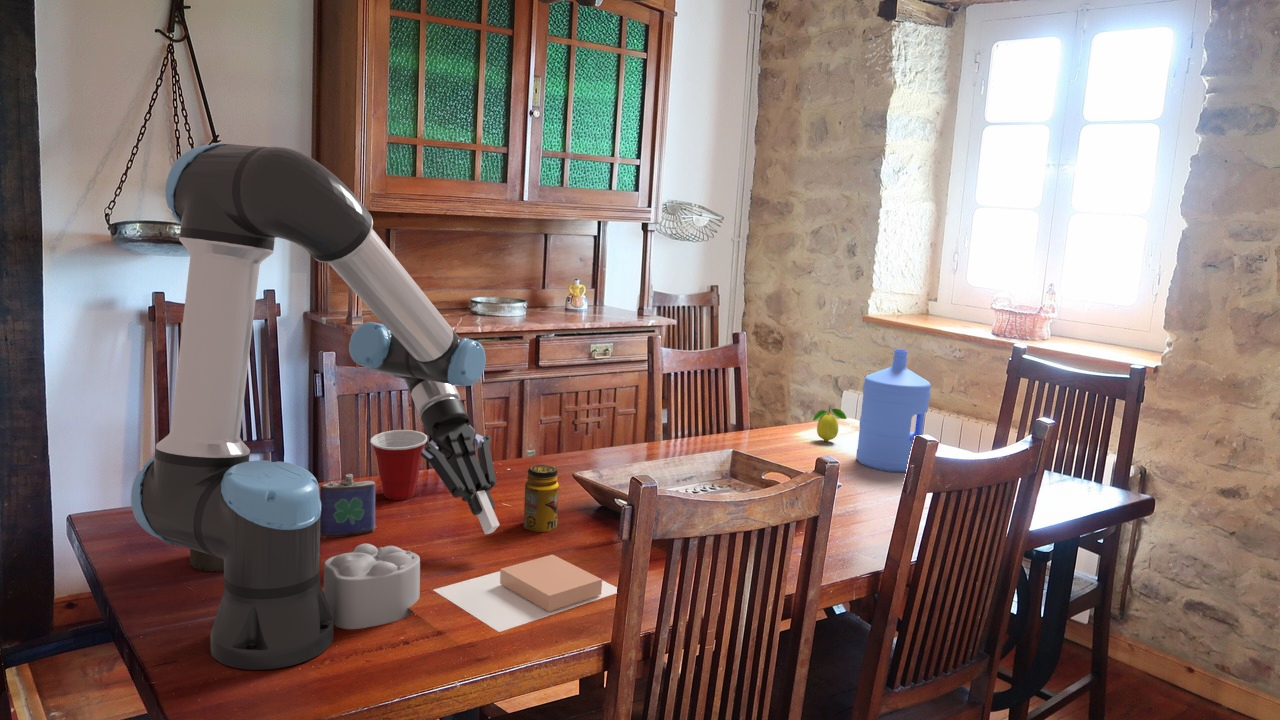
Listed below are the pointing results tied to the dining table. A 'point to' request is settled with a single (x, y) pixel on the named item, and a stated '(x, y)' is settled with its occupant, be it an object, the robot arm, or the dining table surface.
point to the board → (503, 602)
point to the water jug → (891, 415)
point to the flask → (347, 508)
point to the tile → (550, 582)
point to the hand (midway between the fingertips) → (492, 529)
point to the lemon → (828, 423)
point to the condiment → (541, 499)
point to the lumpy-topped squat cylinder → (371, 586)
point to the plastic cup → (399, 461)
